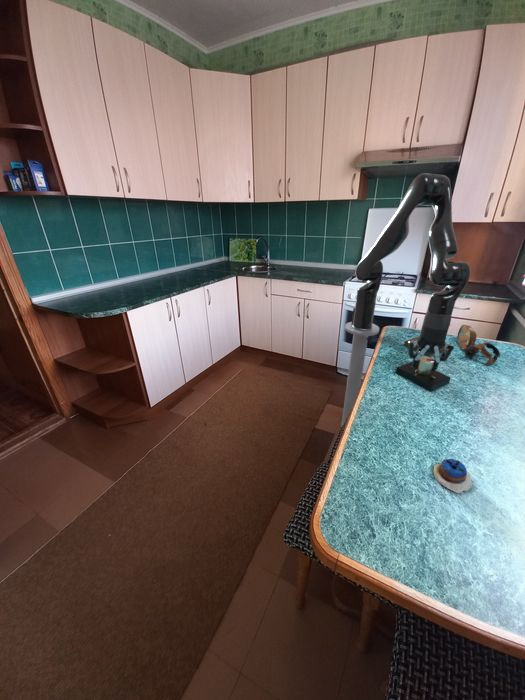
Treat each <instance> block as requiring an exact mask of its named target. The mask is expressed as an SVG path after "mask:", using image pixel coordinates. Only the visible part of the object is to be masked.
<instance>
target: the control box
mask: <svg viewBox="0 0 525 700" xmlns="http://www.w3.org/2000/svg"><path fill="white" fill-rule="evenodd" d="M412 363H413V360H412V361H409V362H407V363H404V364H402V365H398V366H396V370H395V374H396V375H399V376H401V377H403V378H404V379H406V380H408V381H410V382H411V383H414V384H416V386H419V387H421V388H423V389H425V390H426V391H428V392H433V391H435V390H437V389H441V388H442V387H445V386H447V385H449V384H450V381H451V379H452V377H451V376H449V375H446V374H444V373H442V372H440V371H438V370H435V371H432V372H431V374H430V375H428V376H425V375H420V374H418V373H417V372H416V371H415V369H414V368H413V366H412Z"/></svg>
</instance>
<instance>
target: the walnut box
mask: <svg viewBox="0 0 525 700" xmlns="http://www.w3.org/2000/svg"><path fill="white" fill-rule="evenodd" d="M419 337H420V335H419V336H415V337H413V338H410V339H406V340H404V344H403V347H406V348H408V341H409V340H412V341H417V340H418V339H419ZM418 348H419V345H418V344H416V346H415V347H413V350H414V351H415V352H417V349H418ZM444 350H445V349H444V347H443V348H442V349H440V350H439V354H442V353H443V351H444ZM423 356H425V357H430V358H431V357H432V356H434V354H432V353H424V354H423Z"/></svg>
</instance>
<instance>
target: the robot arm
mask: <svg viewBox="0 0 525 700" xmlns="http://www.w3.org/2000/svg"><path fill="white" fill-rule="evenodd" d="M418 206H426V207H432V209H433V211H434V219H433V221H432V224H431V225H430V228H429V230H428V235H427V238H428V245H429V249H430V254H431V257H430V268H429V275H428V276H429V280H430V282H431V283H432V284H433V285H434V286H437V287H445V288H444V289H442V290H439V291H436V292H433V293H432V294H431V295H430V297H429V301H428V306H427V310H426V312H425V315H424V317H423V322H422V324H421V325H422V326H421V329H420V334H419V336H420V337H419V336H418V337H419V339H418V340H417V341H412V340H409V339H408V340H409V341H408V347H407V351H408V353H407V354H408V356H409V358H410V359H412V361H413V363H412V366H413V368H414V369H416V370H417V367H418V363H419V358H420V357H421V356H424V353H432V354H434V355H433V359H434V365H433V368H432V371H435V370H436V371H438V367H439V364H440V363H441V362H447V360H448V358H449V357H450V355H451V354H452V352H453V350H454V348H455V346H454V345H453V344H452V343H450V342H449V343H447V342H446V339H447V335H448V331H449V329H450V326H451V321H452V316H453V311H454V308H455V305H456V301H457V300H458V299H459V298H460V296H461V293H463V290H464V289H465V287H466V285H467V284H468V283H469V282H470V281H469V280H470V278H471V274H472V269H471V266H470V264H469V263H468V262H465V261H447V260H450V259H452V258H454V257H455V256H456V255H457V253H458V252H459V247H458V241H457V238H456V234H455V230H454V224H453V210H452V209H453V205H452V186H451V181H450V178H449V177H448V176H447V175H444V174H440V173H439V174H437V173H429V172H428V173H427V172H422V173H420V174H418V175H417V176H416V177H415V178H414V179H413V181H412V182H411V184H409V187H408V189H407V191H406V192H405V194H404V195H403V198H402V200H401V201H400V203H399V205H398V207H397V208H396V210H395V212H394V213H393V215H392V216H391V218H390V219H389V221H388V223H387V224H386V225H385V227H384V228H383V229H382V231H381V233H380V234H379V235H378V237H377V239H376V240H375V242H374V243H373V244H372V246H371V247H370V249H369V250H368V251H367V253H366V254H365V255H364V256H363V257H362V258H361V259H360V261H359V262H358V264H357V265H356V268H355V271H354V272H355V273H354V274H355V278H356V279H357V280H358V281H361V282H365V283H364V284H362V285H361V286H358V288H357V291H356V297H355V304H354V307H353V309H352V317H351V322H352V323H351V326H352V327H353V328H354V329H357V330H362V331H367V330H371V329H372V324H374V315H375V309H376V303H377V298H378V297H377V296H378V292H379V290H380V287H381V282H382V278H383V273H384V265H383V262H382V260H383V259H386V258H387V257H389V256H391V255H392V254H393V253H395V252H396V251H397V250H398V249H399V248H400V247H401V246H402V244H403V243H404V242H405V240H406V239H407V238H408V236H409V233H410V217H411V215H412V213H413V212H414V210H415V209H416V208H417V207H418ZM416 344H418V345H419V348H418V349H417V351H415V350H413V347H415V346H416ZM443 347H444V349H445V350H444V351H443V352H441V355H440V353H439V350H440V349H442V348H443ZM414 351H415V352H414Z"/></svg>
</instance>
